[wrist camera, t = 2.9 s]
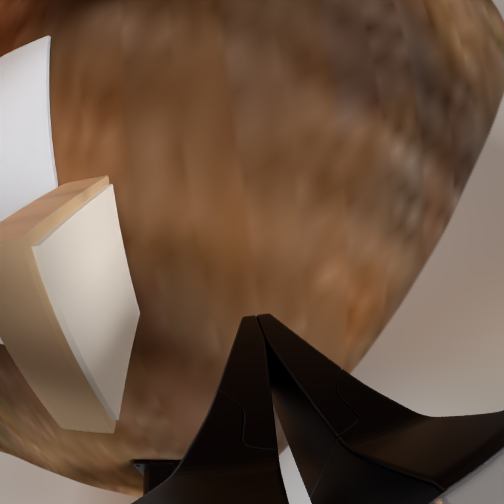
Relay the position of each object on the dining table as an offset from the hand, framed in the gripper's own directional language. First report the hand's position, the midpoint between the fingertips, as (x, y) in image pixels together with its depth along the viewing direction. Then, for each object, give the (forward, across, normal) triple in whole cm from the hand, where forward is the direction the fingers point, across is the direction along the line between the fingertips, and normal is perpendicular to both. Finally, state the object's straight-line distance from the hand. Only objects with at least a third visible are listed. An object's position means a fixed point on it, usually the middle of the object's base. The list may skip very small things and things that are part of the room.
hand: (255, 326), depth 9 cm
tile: (+7, +7, 0) cm, 10 cm away
